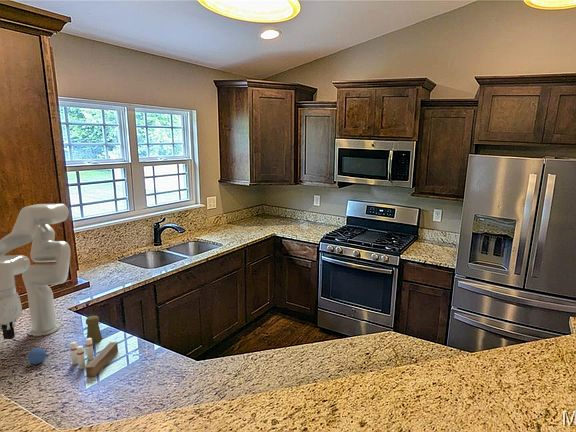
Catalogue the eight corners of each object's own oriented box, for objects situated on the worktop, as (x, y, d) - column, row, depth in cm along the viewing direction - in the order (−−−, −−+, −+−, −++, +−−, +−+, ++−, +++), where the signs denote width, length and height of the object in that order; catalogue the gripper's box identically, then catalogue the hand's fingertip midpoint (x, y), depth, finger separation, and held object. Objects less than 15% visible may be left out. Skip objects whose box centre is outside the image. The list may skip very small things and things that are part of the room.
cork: (98, 335, 165) (96, 312, 163) (104, 339, 161) (102, 316, 160) (84, 340, 161) (81, 317, 159) (90, 345, 157) (87, 321, 155)
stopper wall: (86, 377, 134) (85, 367, 134) (110, 351, 152) (110, 342, 151) (94, 377, 134) (93, 367, 134) (118, 351, 152) (117, 342, 151)
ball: (29, 361, 145) (27, 347, 144) (47, 357, 148) (45, 343, 147) (27, 368, 140) (25, 354, 139) (46, 364, 142) (44, 350, 141)
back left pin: (87, 358, 147) (85, 338, 145) (93, 356, 148) (91, 337, 146) (87, 361, 145) (85, 341, 143) (94, 359, 146) (92, 339, 144)
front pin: (72, 362, 144) (70, 342, 142) (79, 360, 145) (76, 341, 144) (72, 365, 142) (69, 345, 140) (78, 363, 143) (76, 343, 142)
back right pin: (78, 366, 141) (76, 346, 139) (85, 365, 142) (83, 345, 140) (78, 370, 139) (76, 349, 137) (85, 368, 140) (83, 347, 138)
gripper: (-3, 299, 131) (3, 347, 134) (27, 286, 146) (32, 329, 149) (-23, 299, 131) (-17, 347, 134) (9, 286, 146) (14, 329, 149)
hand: (9, 338), depth 141 cm, fingers closed
